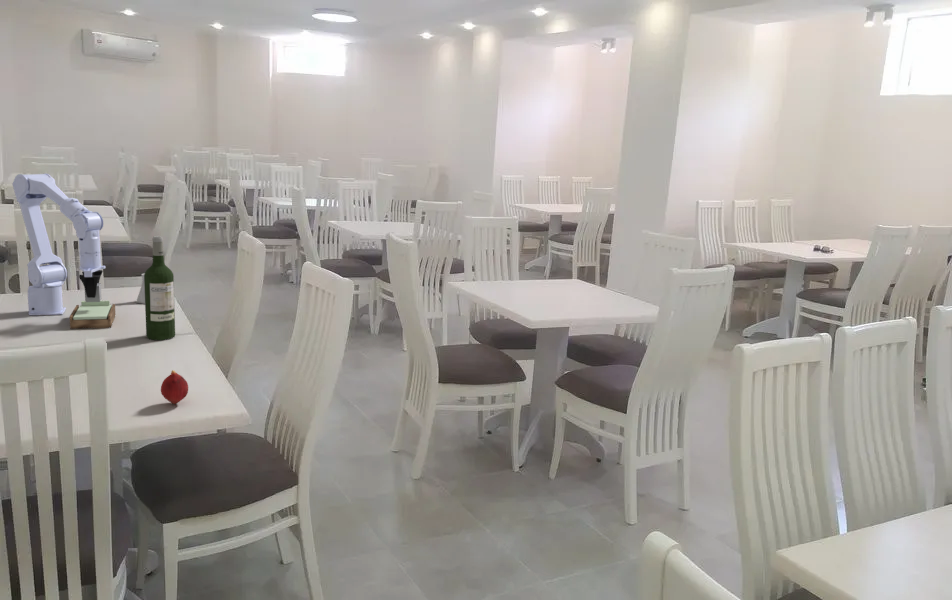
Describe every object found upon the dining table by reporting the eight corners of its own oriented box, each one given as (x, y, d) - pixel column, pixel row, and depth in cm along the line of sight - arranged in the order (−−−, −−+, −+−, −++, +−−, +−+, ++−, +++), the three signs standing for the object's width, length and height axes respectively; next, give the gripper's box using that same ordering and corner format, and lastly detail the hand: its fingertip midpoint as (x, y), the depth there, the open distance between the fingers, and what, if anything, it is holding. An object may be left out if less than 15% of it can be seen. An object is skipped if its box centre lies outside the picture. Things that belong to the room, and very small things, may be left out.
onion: (193, 400, 171) (192, 367, 170) (181, 409, 166) (180, 375, 164) (168, 398, 172) (167, 365, 170) (156, 407, 166) (155, 373, 164)
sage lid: (73, 319, 221) (73, 312, 220) (80, 307, 234) (79, 300, 234) (106, 318, 224) (106, 311, 223) (111, 307, 237) (111, 300, 237)
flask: (153, 305, 255) (152, 276, 253) (132, 303, 255) (131, 275, 253) (162, 300, 262) (161, 272, 260) (141, 299, 262) (140, 271, 260)
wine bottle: (157, 342, 213) (153, 239, 207) (140, 336, 217) (136, 236, 211) (180, 336, 220) (178, 237, 213) (164, 331, 224) (161, 233, 217)
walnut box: (70, 328, 221) (69, 316, 220) (77, 316, 235) (76, 304, 234) (110, 327, 225) (110, 315, 224) (115, 315, 238) (115, 304, 238)
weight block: (85, 302, 226) (84, 286, 224) (87, 298, 230) (86, 283, 228) (99, 301, 227) (99, 286, 226) (101, 298, 231) (100, 283, 230)
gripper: (101, 256, 220) (104, 300, 223) (107, 248, 233) (109, 290, 236) (75, 256, 217) (77, 301, 220) (81, 248, 230) (84, 290, 233)
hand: (92, 295), depth 228 cm, fingers closed on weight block, 4 cm apart
